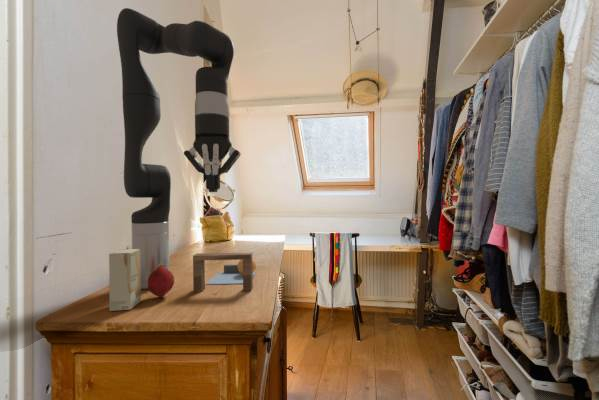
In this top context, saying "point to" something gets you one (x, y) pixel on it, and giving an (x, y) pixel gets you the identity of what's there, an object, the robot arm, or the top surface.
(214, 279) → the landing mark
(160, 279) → the onion
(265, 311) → the top surface
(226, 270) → the stopper strip
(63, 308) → the top surface
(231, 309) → the top surface
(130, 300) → the skincare box
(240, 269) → the ball
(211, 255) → the bridge
